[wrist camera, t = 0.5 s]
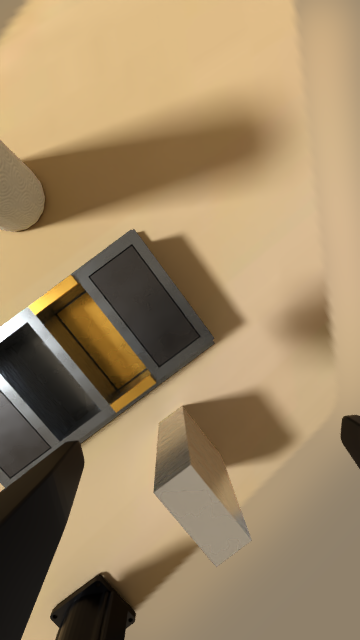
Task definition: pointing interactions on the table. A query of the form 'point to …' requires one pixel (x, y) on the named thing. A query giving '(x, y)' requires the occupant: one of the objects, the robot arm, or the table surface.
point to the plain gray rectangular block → (198, 488)
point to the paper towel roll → (18, 193)
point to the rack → (90, 352)
